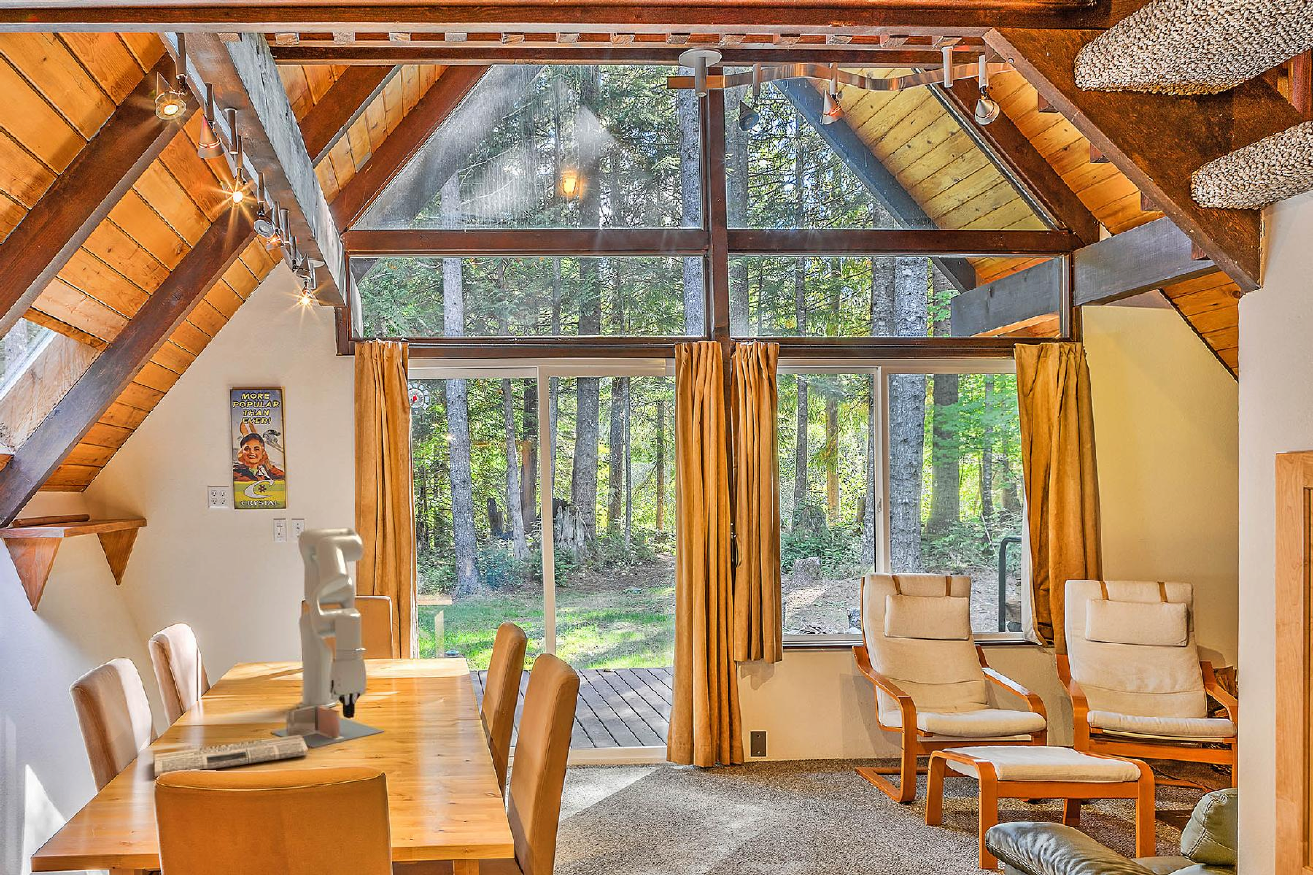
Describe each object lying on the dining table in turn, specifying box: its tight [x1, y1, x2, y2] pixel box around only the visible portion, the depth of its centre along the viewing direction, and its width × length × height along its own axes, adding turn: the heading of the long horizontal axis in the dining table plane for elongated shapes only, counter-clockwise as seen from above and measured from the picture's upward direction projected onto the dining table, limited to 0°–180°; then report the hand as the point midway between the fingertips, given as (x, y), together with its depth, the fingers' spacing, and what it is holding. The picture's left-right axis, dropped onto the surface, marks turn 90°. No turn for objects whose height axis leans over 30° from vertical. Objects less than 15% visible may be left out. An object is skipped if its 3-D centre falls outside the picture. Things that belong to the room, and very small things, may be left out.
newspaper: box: [154, 735, 309, 778], centre depth 270 cm, size 37×19×3 cm, turn 117°
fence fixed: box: [285, 707, 315, 737], centre depth 292 cm, size 2×8×8 cm, turn 136°
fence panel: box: [315, 705, 340, 737], centre depth 292 cm, size 13×2×7 cm, turn 44°
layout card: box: [270, 716, 385, 749], centre depth 296 cm, size 26×24×1 cm
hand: (348, 717), depth 295 cm, fingers closed
